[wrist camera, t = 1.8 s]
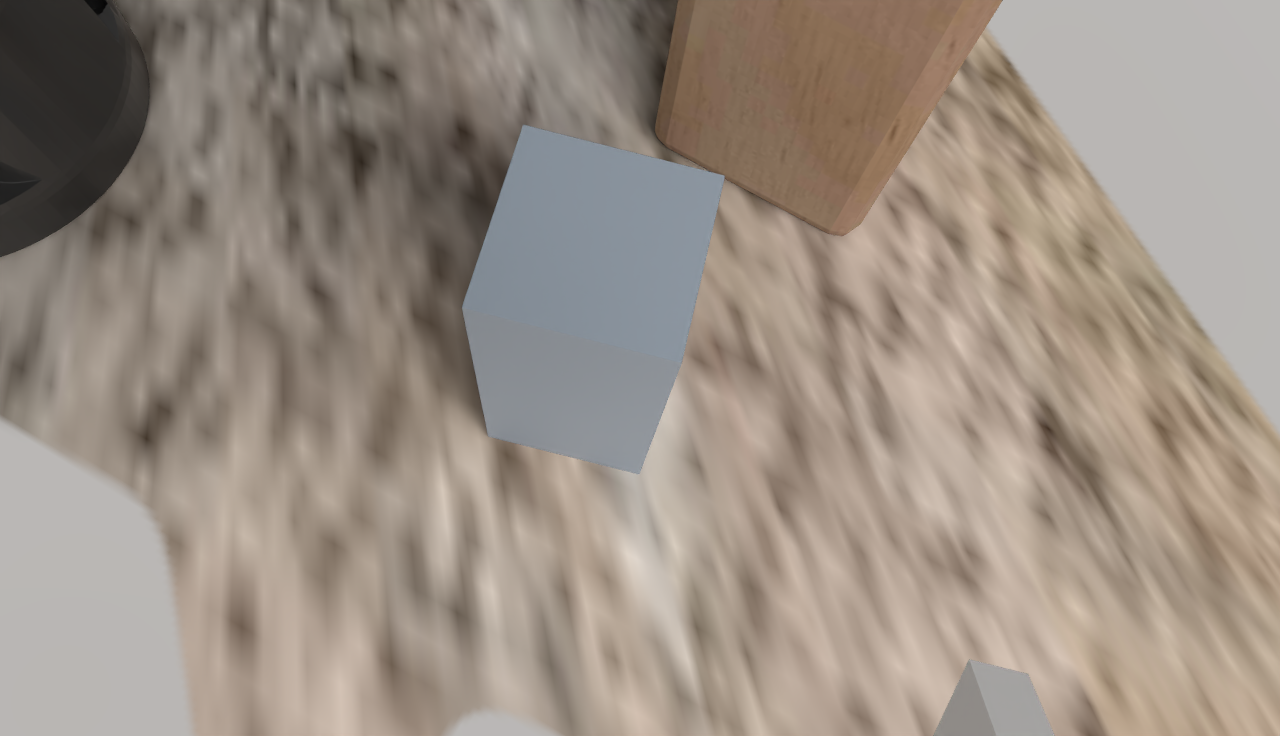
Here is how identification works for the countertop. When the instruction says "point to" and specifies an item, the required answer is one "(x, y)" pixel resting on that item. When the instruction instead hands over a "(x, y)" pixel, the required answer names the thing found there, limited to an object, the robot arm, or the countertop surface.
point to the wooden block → (810, 93)
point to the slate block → (587, 295)
